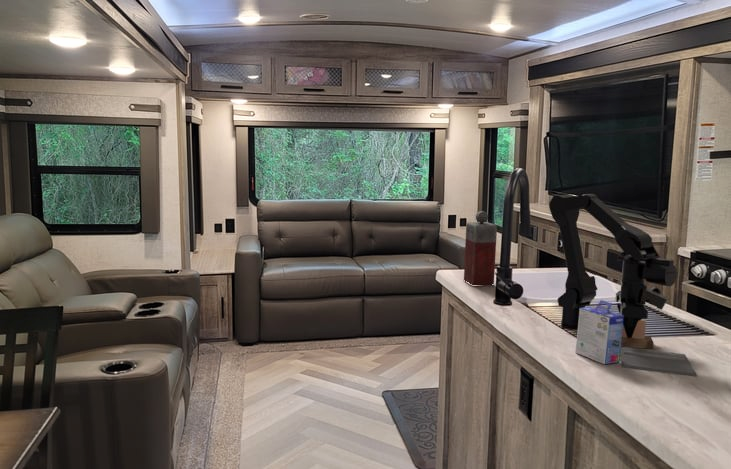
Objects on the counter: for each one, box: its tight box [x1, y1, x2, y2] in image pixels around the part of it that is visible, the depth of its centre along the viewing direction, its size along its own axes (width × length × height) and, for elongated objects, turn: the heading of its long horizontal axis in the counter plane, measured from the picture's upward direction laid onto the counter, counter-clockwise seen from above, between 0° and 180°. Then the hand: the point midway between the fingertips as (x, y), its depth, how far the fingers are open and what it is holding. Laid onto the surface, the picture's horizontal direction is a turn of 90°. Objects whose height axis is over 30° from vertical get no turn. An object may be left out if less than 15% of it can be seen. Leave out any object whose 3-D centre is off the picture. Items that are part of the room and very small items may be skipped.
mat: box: [620, 346, 698, 377], centre depth 149 cm, size 16×14×1 cm
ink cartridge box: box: [575, 299, 624, 365], centre depth 150 cm, size 10×6×14 cm, turn 28°
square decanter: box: [463, 210, 498, 285], centre depth 229 cm, size 9×11×28 cm
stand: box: [621, 335, 654, 350], centre depth 163 cm, size 12×6×2 cm, turn 72°
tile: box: [622, 319, 647, 339], centre depth 163 cm, size 8×1×7 cm, turn 72°
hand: (628, 334), depth 163 cm, fingers open, 5 cm apart
